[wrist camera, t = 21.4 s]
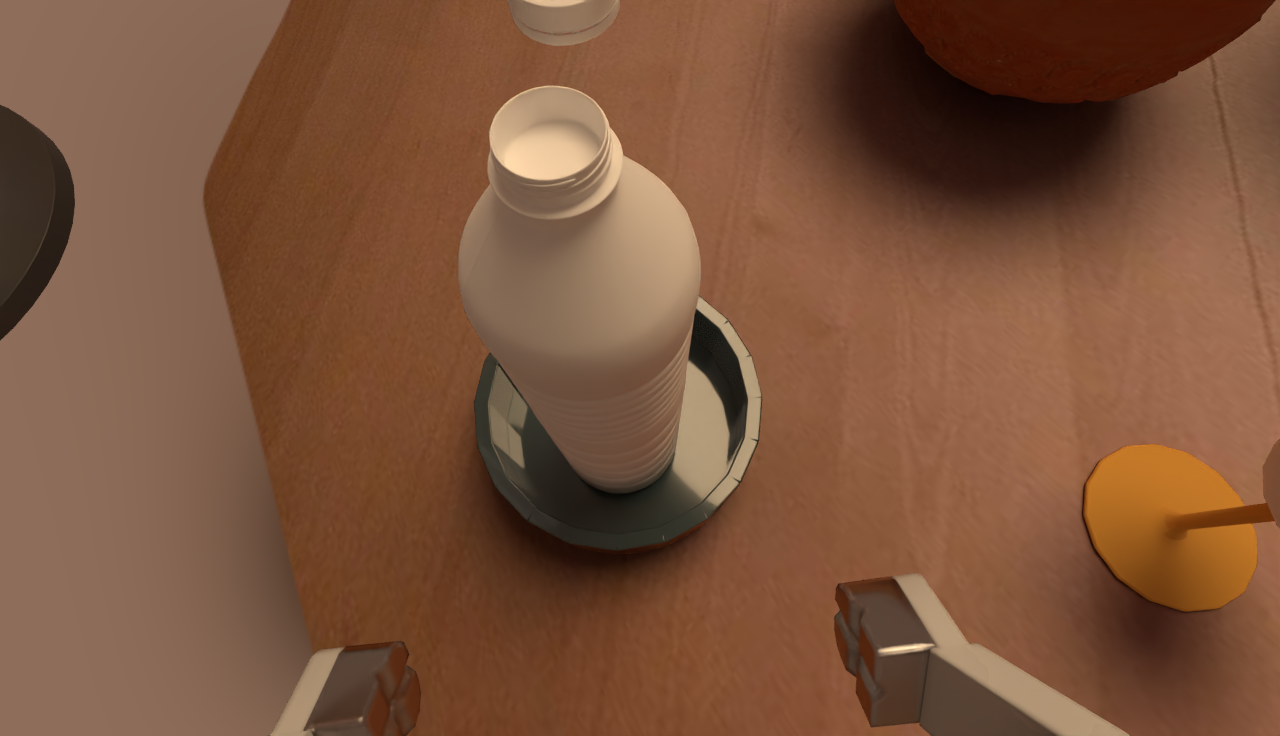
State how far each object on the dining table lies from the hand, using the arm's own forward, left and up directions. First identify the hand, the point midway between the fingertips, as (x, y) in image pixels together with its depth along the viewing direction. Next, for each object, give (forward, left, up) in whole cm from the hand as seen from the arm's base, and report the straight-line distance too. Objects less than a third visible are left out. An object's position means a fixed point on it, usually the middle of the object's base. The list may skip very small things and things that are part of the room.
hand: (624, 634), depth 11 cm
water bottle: (0, +10, -22) cm, 24 cm away
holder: (0, +10, -23) cm, 25 cm away
